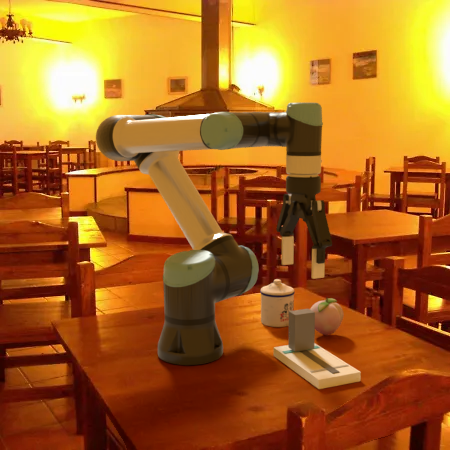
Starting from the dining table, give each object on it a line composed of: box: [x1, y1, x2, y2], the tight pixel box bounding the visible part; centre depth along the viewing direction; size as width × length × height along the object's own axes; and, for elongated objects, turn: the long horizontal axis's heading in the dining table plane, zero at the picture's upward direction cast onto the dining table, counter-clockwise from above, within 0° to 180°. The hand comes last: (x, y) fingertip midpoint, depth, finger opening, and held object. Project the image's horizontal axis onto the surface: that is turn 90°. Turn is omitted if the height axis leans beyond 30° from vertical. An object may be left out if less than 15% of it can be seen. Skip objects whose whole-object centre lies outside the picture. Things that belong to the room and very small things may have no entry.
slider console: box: [273, 342, 362, 390], centre depth 140 cm, size 10×20×2 cm, turn 23°
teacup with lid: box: [260, 278, 295, 328], centre depth 172 cm, size 12×9×12 cm
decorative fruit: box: [309, 296, 345, 337], centre depth 160 cm, size 9×8×10 cm
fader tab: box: [287, 308, 316, 352], centre depth 145 cm, size 5×3×8 cm, turn 113°
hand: (302, 270), depth 142 cm, fingers open, 13 cm apart
